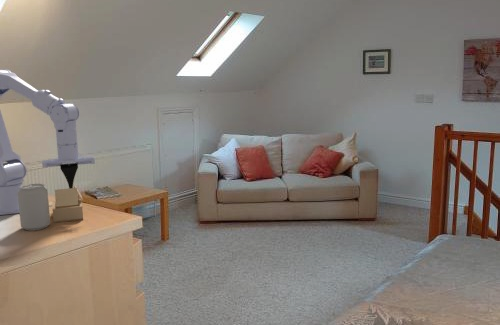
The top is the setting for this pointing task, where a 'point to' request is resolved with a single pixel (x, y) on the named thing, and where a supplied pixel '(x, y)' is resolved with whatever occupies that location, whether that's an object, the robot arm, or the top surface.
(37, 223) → the can
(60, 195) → the long flap
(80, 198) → the side flap
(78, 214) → the carton
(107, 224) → the top surface
